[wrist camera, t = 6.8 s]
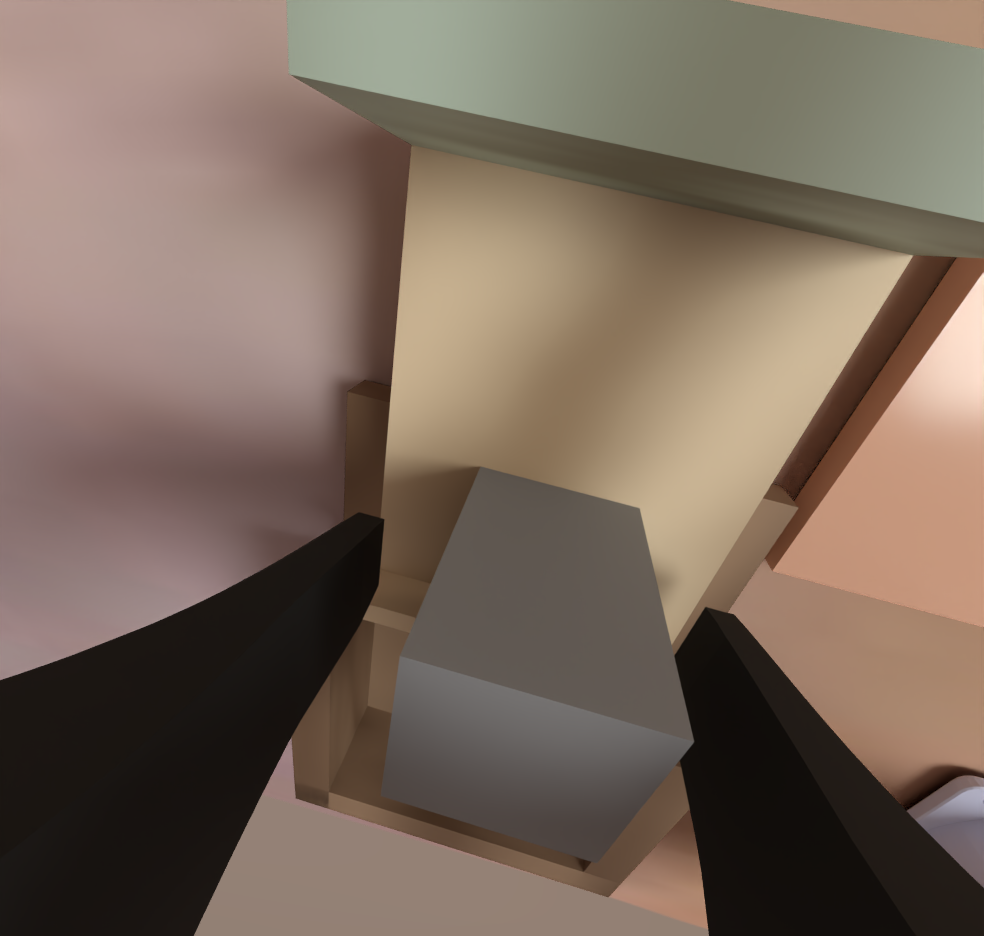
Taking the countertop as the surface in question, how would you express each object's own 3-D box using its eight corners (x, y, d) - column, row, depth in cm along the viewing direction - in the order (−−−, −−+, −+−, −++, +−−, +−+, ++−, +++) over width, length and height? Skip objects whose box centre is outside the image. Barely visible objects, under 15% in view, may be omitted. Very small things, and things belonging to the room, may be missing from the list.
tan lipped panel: (922, 183, 7) (1336, 115, 3) (654, 640, 12) (688, 812, 8) (433, 81, 7) (284, -84, 4) (386, 564, 13) (308, 698, 9)
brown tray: (780, 485, 11) (879, 604, 7) (602, 767, 18) (608, 897, 14) (365, 380, 11) (271, 441, 8) (349, 692, 18) (296, 798, 15)
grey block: (639, 507, 9) (694, 742, 5) (589, 619, 11) (596, 863, 7) (480, 466, 10) (399, 655, 5) (456, 582, 11) (380, 795, 7)
